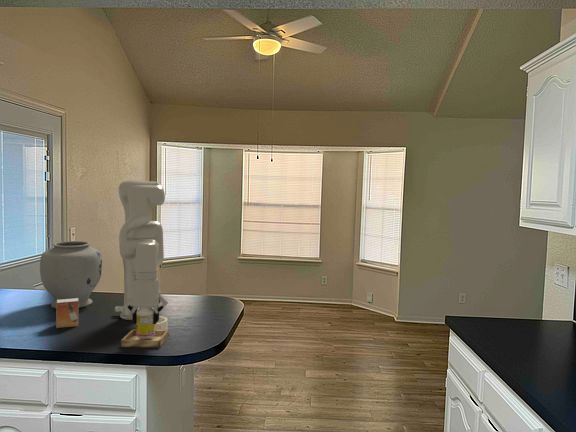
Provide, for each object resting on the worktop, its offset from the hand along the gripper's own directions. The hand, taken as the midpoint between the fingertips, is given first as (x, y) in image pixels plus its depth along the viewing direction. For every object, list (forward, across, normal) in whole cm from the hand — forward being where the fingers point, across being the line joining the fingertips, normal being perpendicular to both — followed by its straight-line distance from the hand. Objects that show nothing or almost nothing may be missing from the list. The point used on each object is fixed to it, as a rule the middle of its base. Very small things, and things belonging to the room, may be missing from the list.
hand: (145, 322), depth 157 cm
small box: (+7, -37, +17) cm, 41 cm away
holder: (+7, -1, +13) cm, 15 cm away
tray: (+7, 0, 0) cm, 7 cm away
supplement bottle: (+5, 0, 0) cm, 5 cm away
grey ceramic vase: (+8, -50, +48) cm, 70 cm away
